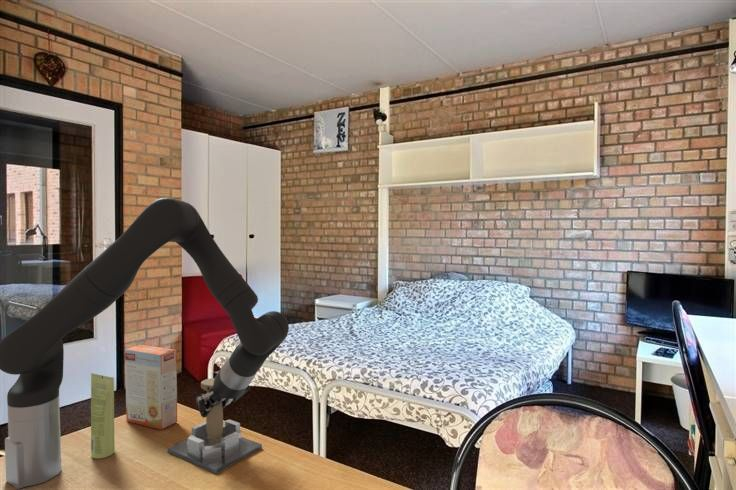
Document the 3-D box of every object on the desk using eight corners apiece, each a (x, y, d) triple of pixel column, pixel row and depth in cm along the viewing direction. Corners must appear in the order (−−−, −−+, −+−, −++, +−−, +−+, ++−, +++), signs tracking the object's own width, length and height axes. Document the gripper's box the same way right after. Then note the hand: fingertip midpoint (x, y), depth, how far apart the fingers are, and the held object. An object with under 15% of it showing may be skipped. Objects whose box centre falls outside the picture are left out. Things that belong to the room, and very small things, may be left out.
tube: (119, 447, 114) (117, 370, 113) (115, 457, 110) (113, 377, 108) (93, 451, 112) (91, 372, 111) (88, 461, 108) (86, 379, 107)
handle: (220, 448, 109) (219, 386, 109) (197, 444, 111) (196, 383, 111) (231, 439, 114) (231, 379, 113) (209, 435, 116) (209, 377, 115)
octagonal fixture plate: (216, 474, 102) (215, 452, 102) (167, 452, 112) (167, 432, 112) (261, 448, 114) (261, 428, 114) (214, 430, 124) (213, 412, 123)
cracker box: (178, 422, 129) (177, 349, 128) (161, 431, 123) (159, 354, 122) (143, 413, 134) (142, 343, 133) (125, 421, 129) (123, 348, 128)
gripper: (256, 354, 112) (230, 390, 121) (201, 367, 101) (177, 406, 110) (269, 380, 109) (241, 416, 117) (214, 397, 98) (188, 434, 107)
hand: (210, 411), depth 114 cm, fingers open, 3 cm apart
